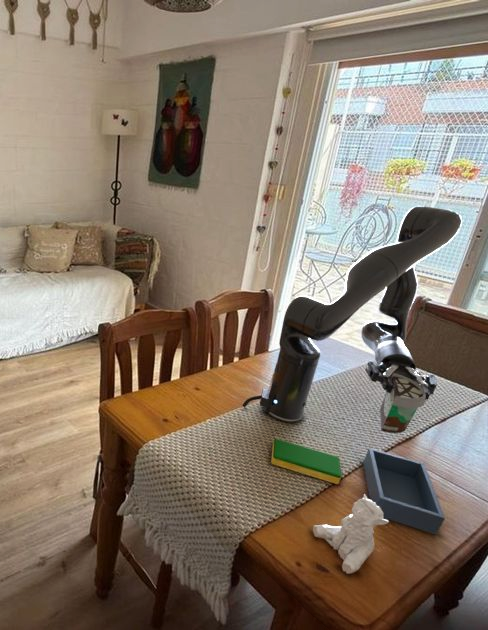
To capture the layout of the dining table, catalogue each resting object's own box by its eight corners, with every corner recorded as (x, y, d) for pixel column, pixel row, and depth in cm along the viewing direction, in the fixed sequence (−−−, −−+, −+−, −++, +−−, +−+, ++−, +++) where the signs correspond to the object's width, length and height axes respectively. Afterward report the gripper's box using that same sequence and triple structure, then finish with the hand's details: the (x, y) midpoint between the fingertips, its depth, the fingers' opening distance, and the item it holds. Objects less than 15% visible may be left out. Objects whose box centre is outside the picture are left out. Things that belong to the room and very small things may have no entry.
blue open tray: (372, 514, 90) (380, 498, 88) (362, 462, 103) (368, 447, 101) (436, 534, 85) (445, 518, 84) (417, 478, 99) (424, 463, 97)
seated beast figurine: (308, 531, 85) (325, 484, 80) (345, 523, 87) (364, 478, 82) (347, 576, 77) (368, 528, 72) (386, 567, 79) (410, 519, 74)
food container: (414, 444, 95) (431, 406, 91) (381, 434, 98) (396, 397, 94) (410, 415, 105) (425, 379, 101) (379, 406, 108) (393, 371, 103)
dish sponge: (272, 445, 108) (274, 437, 107) (336, 464, 102) (339, 456, 101) (271, 464, 102) (273, 456, 101) (338, 485, 96) (341, 476, 96)
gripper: (365, 340, 114) (375, 371, 100) (433, 353, 108) (453, 388, 95) (357, 365, 117) (365, 398, 103) (422, 379, 112) (440, 416, 98)
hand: (407, 393), depth 99 cm, fingers closed on food container, 6 cm apart
